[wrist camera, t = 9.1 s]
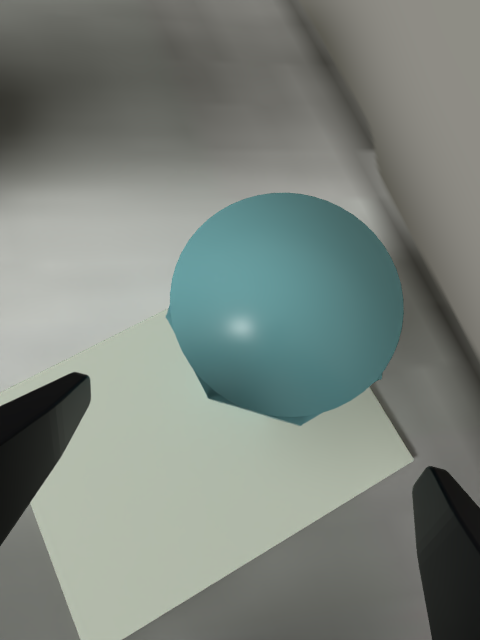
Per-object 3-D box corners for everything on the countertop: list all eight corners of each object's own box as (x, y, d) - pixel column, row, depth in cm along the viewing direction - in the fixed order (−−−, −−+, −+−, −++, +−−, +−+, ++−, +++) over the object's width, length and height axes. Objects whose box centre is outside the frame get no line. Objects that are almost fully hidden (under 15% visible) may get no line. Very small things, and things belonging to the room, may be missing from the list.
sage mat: (91, 654, 18) (88, 660, 17) (-4, 397, 21) (-9, 396, 20) (410, 459, 20) (414, 460, 20) (284, 252, 23) (285, 249, 22)
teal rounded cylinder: (238, 435, 20) (241, 466, 9) (183, 331, 21) (129, 252, 10) (339, 376, 21) (451, 342, 10) (281, 279, 22) (324, 158, 11)
